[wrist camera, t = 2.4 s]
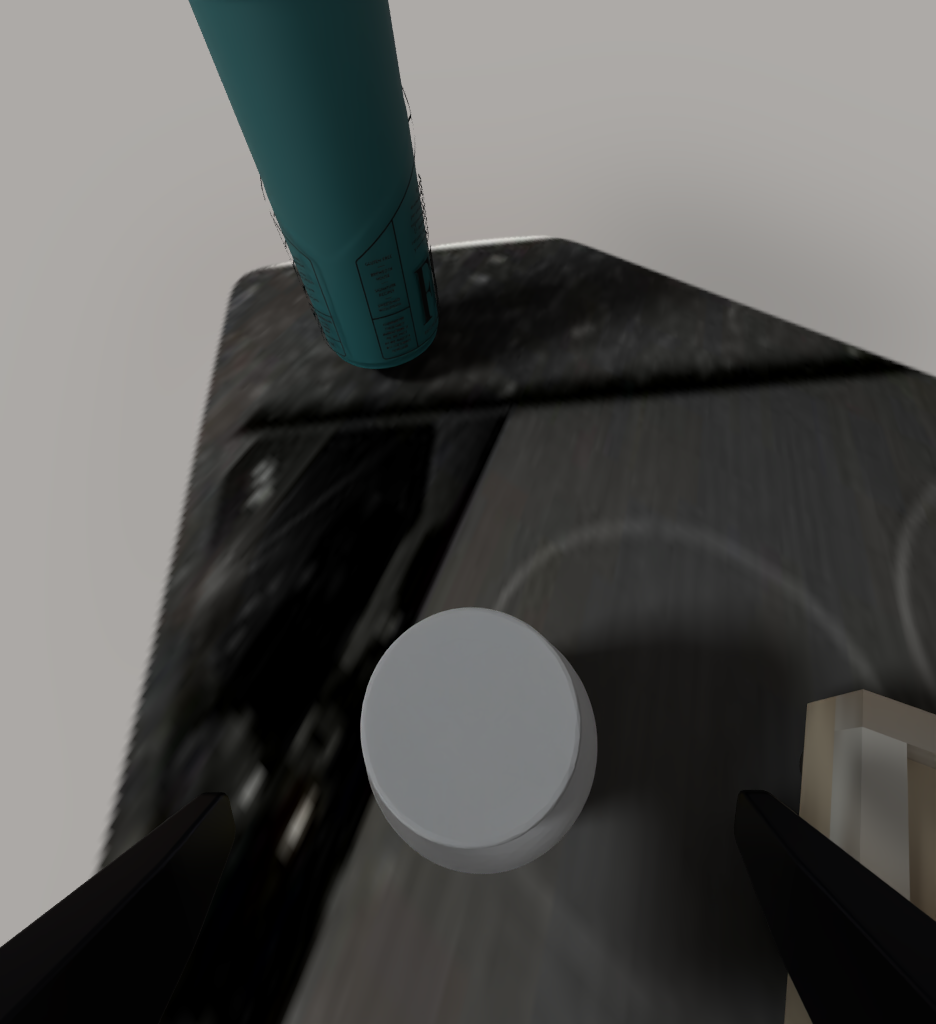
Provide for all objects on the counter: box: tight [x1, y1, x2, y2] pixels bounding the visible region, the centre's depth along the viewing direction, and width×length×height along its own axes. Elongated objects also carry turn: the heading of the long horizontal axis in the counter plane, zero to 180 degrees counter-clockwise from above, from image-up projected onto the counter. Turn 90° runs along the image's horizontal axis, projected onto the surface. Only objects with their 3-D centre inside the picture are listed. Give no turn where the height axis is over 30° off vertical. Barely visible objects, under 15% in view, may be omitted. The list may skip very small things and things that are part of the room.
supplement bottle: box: [361, 607, 597, 874], centre depth 13 cm, size 5×5×10 cm
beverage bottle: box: [189, 0, 441, 369], centre depth 19 cm, size 6×7×20 cm
